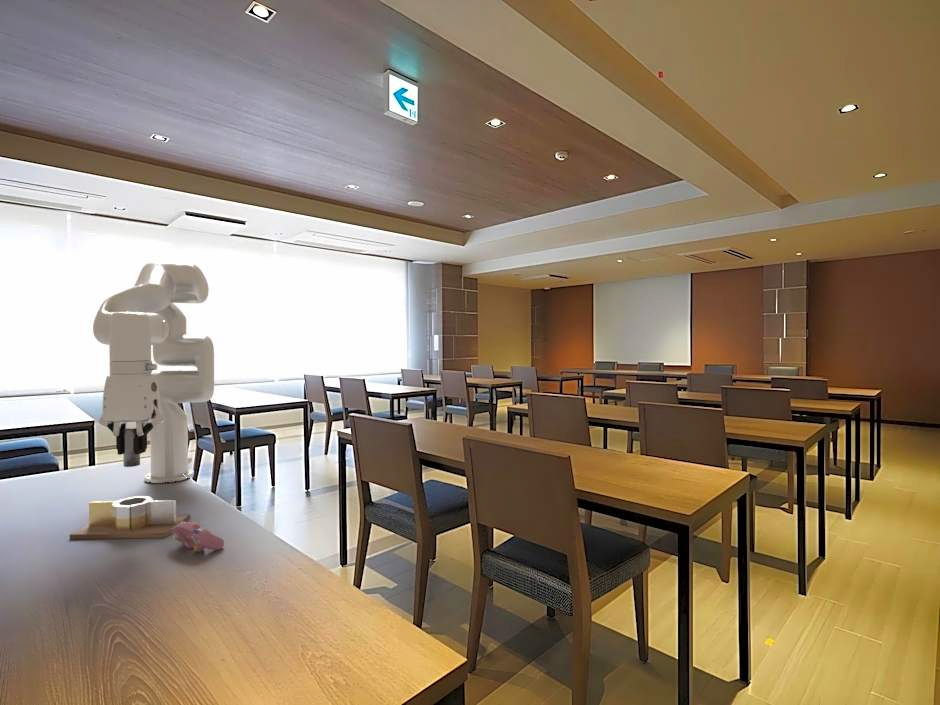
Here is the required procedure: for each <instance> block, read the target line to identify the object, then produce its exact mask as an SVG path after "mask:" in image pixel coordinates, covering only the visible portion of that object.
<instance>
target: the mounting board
mask: <svg viewBox="0 0 940 705" xmlns="http://www.w3.org/2000/svg"><path fill="white" fill-rule="evenodd" d="M189 518H190V519H191V514H190V513H187V514H186V513H185V514H183V513H182V514H181V513H180V514H177V513H176V523H175V524H149V525H148V526H145V527H141V528H137V529H133V530H115V529H114V528H113V527H112V525H89V523H88V524H86V525H85V526H83V527H81V528H79V529H76V530H75V531H74V532H71V533H70V534H69V540H97V539H98V540H102V539H103V540H106V539H110V540H111V539H112V540H113V539H156V538H157V539H160V538H161V539H163V538H164V539H165V538H166V536H167V537H168V536H169V535H171V534H172V533H171V529H172V528H173V527H174V526H176V525H177V524H180V523H181V522H182V521H183V522H185V521H186V522H188V521H189V520H190V519H189ZM188 519H189V520H188ZM187 520H188V521H187ZM170 533H171V534H170Z"/></svg>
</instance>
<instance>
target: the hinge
mask: <svg viewBox="0 0 940 705" xmlns="http://www.w3.org/2000/svg"><path fill="white" fill-rule="evenodd" d="M176 514H177V499H165V500H164V499H162V500H161V499H158V500H157V499H155V500H154V498H153V497H151V496H149V495H136V496H130V497H125V498H121V499H117V500H91V501H90V502H88V520H89V521H88V522H89V523H88V524H89V525H112V527H113V528H114V529H115V530H133V529H137V528H141V527H145V526H148V525H149V524H175V523H176Z"/></svg>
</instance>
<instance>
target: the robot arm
mask: <svg viewBox="0 0 940 705" xmlns="http://www.w3.org/2000/svg"><path fill="white" fill-rule="evenodd" d="M209 289H210V288H209V284H208V280H207V278H206V277H205V275H204V273H203V270H202V269H201V268H200V267H199V266H197V265H196V264H194V263H191V262H183V261H182V262H181V261H179V262H178V261H162V260H161V261H159V260H156V261H151V262H147V263H146V264H145V265H144V266H143V267H142V268H141V270H140V272H139V274H138V277H137V279H136V282H135V283H134V286H133V287H130V288H128V289H125V290H123V291H120V292H118V293H116V294H113V295H112V296H110V297H108V298H106V299H105V300H104V301H103V302H102V303H101V305H100V307H99V309H98V311H97V313H96V315H95V317H94V321H93V325H92V332H93V335H94V338H95V339H96V341H98V342H99V343H101V344H103V345H107V346H109V347H108V348H109V351H108V352H109V375H107V376H106V378H105V382H104V386H103V394H102V414H101V416H100V418H99V419H98V424H100V425H101V426H104V427H106V428H108V430H110V431H111V432H112V436H114V437H115V440H116V441H115V442H116V443H115V444H116V450H117V455H123V429H126V428H128V423H129V422H132V423H133V422H135V426H136V427H135V428H137V436H135V437H134V451H135V454H140V455H141V454H143V453H146V451H147V448H148V434H150V435H149V437H150V439H149V440H150V442H149V444H150V450H149V451H150V453H149V454H150V472H149V473H146V474H145V475H144V482H146V483H149V482H151V483H150V484H167V482H169V483H175V481H176V482H180V481H184V480H187V478H186V477H188V479H190V478H193V476H194V475H195V471H194V469H192V468H189V464H191V463H192V462H193V458H192V457H190V456H189V436H188V434H189V432H188V431H189V430H188V429H189V426H188V425H189V424H188V422H189V421H188V415H187V414H186V412H185V411H184V410H183V409H182V408H181V407H180V405H179V404H184V403H186V404H187V403H189V404H190V403H204V402H208V401H210V400H211V399H212V398H213V397H214V392H215V347H214V344H213V341H212V339H211V338H210V337H209V336H208V335H205V334H188V333H187V318H186V316H185V315H184V313H183V311H181V309H180V308H179V307H178V306H177V305H176V304H202V303H204V302H206V301H207V299H208V297H209V292H210V291H209ZM152 358H153V360H154V362H155V363H153V361H152ZM158 366H162V367H164V366H165V367H195V368H196V369H197V370H161V371H156V370H158ZM153 371H156V372H153ZM183 474H184V475H185V476H186V477H185V476H184V475H183ZM185 478H186V479H185ZM165 482H166V483H165Z"/></svg>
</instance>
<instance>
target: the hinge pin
mask: <svg viewBox="0 0 940 705" xmlns="http://www.w3.org/2000/svg"><path fill="white" fill-rule="evenodd" d="M135 436H137V428H136V427H127V428H126V429H123V454H122V455H123V460H122V461H123V467H125V468H132V467H133V468H134V467H138V466H140V465H141V454H135V451H134V437H135Z"/></svg>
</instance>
